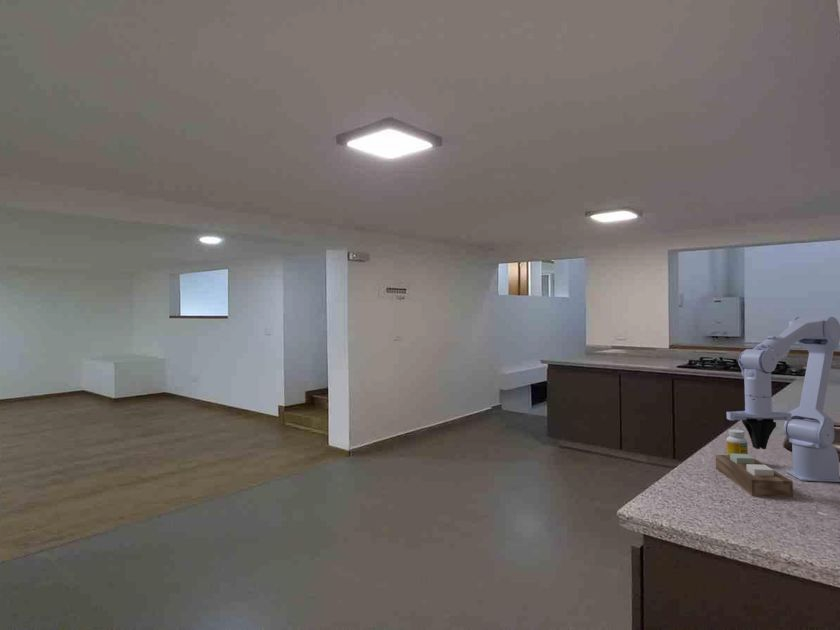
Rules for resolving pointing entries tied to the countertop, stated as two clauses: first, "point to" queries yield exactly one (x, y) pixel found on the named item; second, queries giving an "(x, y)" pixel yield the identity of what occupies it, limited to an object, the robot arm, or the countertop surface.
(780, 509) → the countertop surface
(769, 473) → the off white key
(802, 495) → the countertop surface
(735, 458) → the sage key
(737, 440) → the supplement bottle
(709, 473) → the countertop surface
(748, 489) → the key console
